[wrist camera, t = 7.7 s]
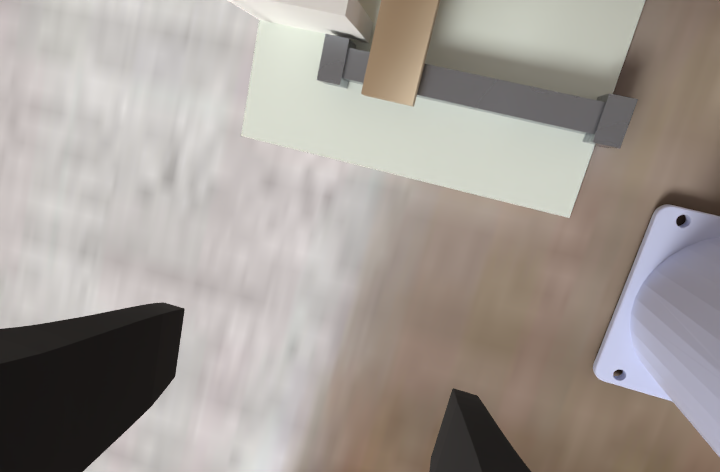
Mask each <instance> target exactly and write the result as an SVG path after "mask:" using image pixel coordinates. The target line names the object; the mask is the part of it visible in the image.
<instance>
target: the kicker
mask: <svg viewBox="0 0 720 472" xmlns="http://www.w3.org/2000/svg"><path fill="white" fill-rule="evenodd" d="M439 3H440V0H381V4H380V8H379V13H378V17H377V22H376V27H375V31H374V36H373V41H372V45H371V50H370V54H369V59H368V64H367V68H366V73H365V77H364V82H363V87H362V91H361V94H362V95H364V96H368V97H373V98H377V99H382V100H386V101H390V102H395V103H399V104H404V105H408V106H412V107H414V105H415V101H416V97H417V93H418V89H419V85H420V81H421V77H422V72H423V68H424V64H425V60H426V56H427V52H428V48H429V44H430V40H431V36H432V32H433V28H434V24H435V20H436V16H437V12H438V8H439Z"/></svg>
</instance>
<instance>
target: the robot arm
mask: <svg viewBox="0 0 720 472" xmlns="http://www.w3.org/2000/svg"><path fill="white" fill-rule="evenodd" d="M680 215H685V217H686V221H685V223H684V224H683V225H680V226H677V224H676V219H677V218H678V216H680ZM183 316H184V308H180V307H177V306H174V305H170V304H167V303H153V304H146V305H141V306H135V307H130V308H125V309H120V310H115V311H110V312H105V313H100V314H95V315H90V316H85V317H79V318H73V319H68V320H62V321H56V322H50V323H44V324H38V325H31V326H23V327H15V328H5V329H0V472H83V471H84V470H85V469H86V468H87V467H88V466H89V465H90V464H91V463H92V462H93V461H94V460H95V459H97V458H98V457H99V456H100V455H101V454H102V453H103V452H104V451H105V450H106V449H107V448H108V447H109V446H110V445H111V444H112V443H114V442H115V441H116V440H117V439H118V438H119V437H120V436H121V435H122V434H123V433H124V432H125V431H126V430H127V429H128V428H129V427H130V426H132V425H133V424H134V423H135V422H136V421H137V420H138V419H139V418H140V417H141V416H142V415H143V414H144V413H145V412H146V411H147V410H148V409H149V408H150V407H151V406H152V405H153V404H154V402H155V401H156V400H157V399H158V398H159V396H160V395H161V394H162V393H163V391H164V390H165V389H166V388H167V386H168V385H169V384H170V382H171V381H172V380H173V378H174V377H175V373H176V366H177V359H178V352H179V345H180V338H181V331H182V324H183ZM618 369H619V370H623V373H622V374H621V375H619V376H613V373H614V372H615V371H616V370H618ZM593 370H594V373H595V375H596V376H597V377H598V378H599V379H600V380H602V381H605V382H608V383H612V384H615V385H618V386H622V387H625V388H629V389H632V390H636V391H639V392H642V393H646V394H649V395H653V396H656V397H659V398H663V399H666V400H670V401H673V402H674V403H675V405H676V406H677V407H678V408H679V409H680V411H681V412H682V413H683V414H684V415H685V416H686V418H687V419H688V420H689V421H690V422H691V424H692V425H693V426H694V427H695V428H696V430H697V431H698V432H699V433H700V434H701V436H702V437H703V438H704V439H705V440H706V441H707V443H708V444H709V445H710V446H711V447H712V449H713V450H714V451H715V452H716V453H717V455H718V456H719V457H720V216H717V215H713V214H708V213H704V212H700V211H696V210H692V209H687V208H683V207H679V206H675V205H669V204H665V205H662V206H660V207H658V208H657V209H656V210H655V211H654V213H653V215H652V218H651V220H650V223H649V225H648V228H647V231H646V233H645V236H644V238H643V241H642V243H641V246H640V248H639V251H638V253H637V256H636V258H635V261H634V263H633V266H632V268H631V271H630V273H629V276H628V279H627V281H626V284H625V286H624V289H623V291H622V294H621V296H620V299H619V301H618V304H617V306H616V309H615V311H614V314H613V316H612V319H611V321H610V324H609V327H608V329H607V332H606V334H605V337H604V339H603V342H602V344H601V347H600V349H599V352H598V354H597V357H596V359H595V362H594V364H593ZM430 472H531V471H530V470H529V468H528V467H527V466H526V465H525V463H524V462H523V461H522V459H521V458H520V457H519V455H518V454H517V453H516V451H515V450H514V449H513V447H512V446H511V444H510V443H509V442H508V440H507V439H506V437H505V436H504V434H503V433H502V431H501V430H500V428H499V427H498V425H497V424H496V422H495V421H494V419H493V418H492V416H491V415H490V413H489V412H488V410H487V409H486V407H485V406H484V404H483V403H482V401H481V400H480V399H479V397H478V396H477V395H473V394H470V393H467V392H463V391H460V390H457V389H452V392H451V396H450V399H449V402H448V405H447V408H446V412H445V415H444V418H443V421H442V424H441V428H440V431H439V434H438V437H437V440H436V444H435V447H434V450H433V453H432V456H431V463H430Z"/></svg>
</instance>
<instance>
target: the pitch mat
mask: <svg viewBox="0 0 720 472" xmlns="http://www.w3.org/2000/svg"><path fill="white" fill-rule="evenodd" d="M358 2H359V3H360V4H361V6H362V7H363V9H364V10H365V12H366V13H367V15H368V16H369V18H370V19H371V21H372V22H373V26H372V30H371V35H370V40H369V43H367V42H362V41H357V40H352V39H350V40H351V41H352V42H353V43H354V44H355V45H356V49H358V50H363V51H368V52H370V50H371V45H372V41H373V36H374V31H375V27H376V22H377V17H378V13H379V8H380V4H381V0H358ZM644 3H645V0H440V3H439V8H438V12H437V16H436V20H435V24H434V28H433V32H432V36H431V40H430V44H429V48H428V52H427V56H426V60H425V64H429V65H433V66H438V67H443V68H447V69H452V70H457V71H461V72H466V73H471V74H475V75H480V76H485V77H489V78H494V79H499V80H504V81H508V82H513V83H518V84H522V85H527V86H532V87H536V88H541V89H546V90H550V91H555V92H560V93H564V94H569V95H574V96H579V97H583V98H588V99H593V100H597V98H598V96H602V95H606V94H609V93H610V94H613V92H614V89H615V86H616V83H617V80H618V77H619V75H620V72H621V69H622V66H623V63H624V60H625V57H626V55H627V52H628V49H629V46H630V43H631V40H632V37H633V35H634V32H635V29H636V26H637V23H638V20H639V17H640V15H641V12H642V9H643V6H644ZM324 39H325V34H324V33H319V32H314V31H310V30H305V29H300V28H296V27H291V26H286V25H281V24H277V23H272V22H267V21H262V20H259V25H258V31H257V37H256V44H255V50H254V56H253V63H252V69H251V76H250V82H249V88H248V95H247V101H246V107H245V114H244V120H243V126H242V133H241V136H243V137H247V138H251V139H255V140H259V141H263V142H267V143H271V144H275V145H279V146H283V147H287V148H291V149H295V150H299V151H303V152H307V153H311V154H315V155H319V156H323V157H327V158H331V159H335V160H339V161H343V162H347V163H351V164H355V165H359V166H363V167H367V168H371V169H375V170H379V171H383V172H387V173H391V174H395V175H399V176H403V177H407V178H411V179H415V180H419V181H423V182H427V183H431V184H435V185H439V186H443V187H447V188H451V189H455V190H459V191H463V192H467V193H471V194H475V195H479V196H483V197H487V198H491V199H495V200H499V201H504V202H508V203H512V204H516V205H520V206H524V207H528V208H532V209H536V210H540V211H544V212H548V213H552V214H556V215H560V216H564V217H568V218H570V215H571V212H572V209H573V206H574V203H575V200H576V198H577V195H578V192H579V189H580V186H581V183H582V180H583V178H584V175H585V172H586V169H587V166H588V163H589V160H590V158H591V155H592V152H593V149H594V146H595V145H594V144H589V143H585V142H582V141H583V138H584V136H585V134H580V133H576V132H571V131H567V130H562V129H558V128H554V127H549V126H545V125H540V124H536V123H531V122H527V121H522V120H518V119H513V118H509V117H504V116H500V115H495V114H491V113H487V112H482V111H478V110H473V109H469V108H464V107H460V106H455V105H451V104H446V103H442V102H437V101H433V100H428V99H424V98H420V97H416V101H415V105H414V107H412V106H408V105H404V104H399V103H395V102H390V101H386V100H382V99H377V98H373V97H368V96H364V95H362V94H361V91H362V87H363V85H361V84H357V83H353V82H349V84H348V88H347V89H346V88H342V87H337V86H333V85H329V84H325V83H323V82H320V81H318V80H317V75H318V70H319V65H320V60H321V55H322V49H323V44H324Z"/></svg>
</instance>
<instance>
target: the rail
mask: <svg viewBox="0 0 720 472" xmlns="http://www.w3.org/2000/svg"><path fill="white" fill-rule="evenodd" d="M369 54H370V52H368V51H363V50H358V49H356V45H355V44H354V43H353V42H352V41H351V40H350V39H349V38H344V37H339V36H334V35H330V34H325V39H324V44H323V49H322V55H321V60H320V65H319V70H318V75H317V80H318V81H320V82H323V83H325V84H329V85H333V86H337V87H342V88H346V89H347V88H348V84H349V82H353V83H357V84H361V85H363V82H364V77H365V73H366V68H367V64H368V59H369ZM417 97H420V98H424V99H428V100H433V101H437V102H442V103H446V104H451V105H455V106H460V107H464V108H469V109H473V110H478V111H482V112H487V113H491V114H495V115H500V116H504V117H509V118H513V119H518V120H522V121H527V122H531V123H536V124H540V125H545V126H549V127H554V128H558V129H562V130H567V131H571V132H576V133H580V134H585V136H584V138H583V141H582V142H585V143H589V144H594V145H597V146H602V147H606V148H620V147H621V144H622V142H623V139H624V136H625V133H626V131H627V128H628V125H629V122H630V120H631V117H632V114H633V111H634V109H635V106H636V103H637V100H638V99H634V98H629V97H624V96H620V95H615V94H610V93H609V94H606V95H602V96H598V98H597V100H593V99H588V98H583V97H579V96H574V95H569V94H564V93H560V92H555V91H550V90H546V89H541V88H536V87H532V86H527V85H522V84H518V83H513V82H508V81H504V80H499V79H494V78H489V77H485V76H480V75H475V74H471V73H466V72H461V71H457V70H452V69H447V68H443V67H438V66H433V65H429V64H424V68H423V72H422V77H421V81H420V85H419V89H418V93H417Z"/></svg>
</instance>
